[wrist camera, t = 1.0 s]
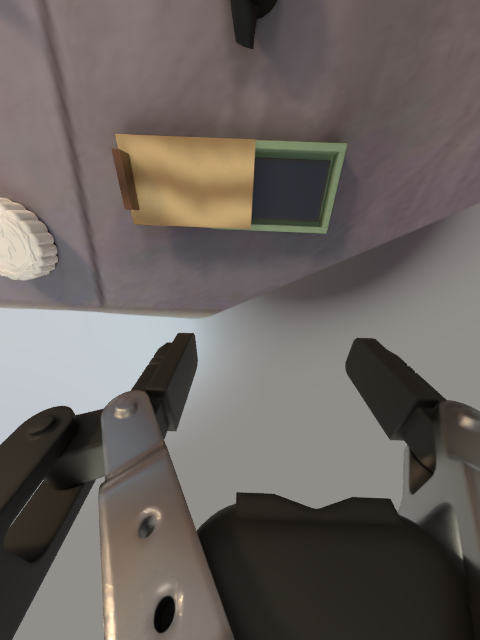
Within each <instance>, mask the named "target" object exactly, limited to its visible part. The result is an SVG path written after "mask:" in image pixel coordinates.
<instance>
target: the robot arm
mask: <svg viewBox="0 0 480 640" xmlns="http://www.w3.org/2000/svg"><path fill="white" fill-rule="evenodd" d="M197 362H198V358H197V349H196V341H195V335H194V333H178V334H177V336H176V337H175V339H174V341H173V342H172V343H166V344H165V345H163V346H162V347H161V348H159V349H158V351H157V352H156V354H155V355H154V358H152V360H151V361H150V363H149V365H148V366H147V367H146V369H145V370H144V372H143V373H142V375H141V376H140V378H139V379H138V381H137V382H136V384H135V385H134V387H133V388H132V390H131V391H129V392H125V393H123V394H121V395H119V396H117V397H115V398H114V399H113V400H111V401H110V402H109V403H108V404H107V406H106V407H105V408H104V409H101V410H97V411H93V412H88V413H84V414H80V415H75V414H74V412H73V410H72V409H71V408H69V407H66V406H57V407H53V408H49V409H46V410H44V411H42V412H40V413H38V414H36V415H34V416H32V417H31V418H29V419H28V420H27V421H25V422H24V423H23V424H22V425H20V426H19V427H18V428H17V429H16V430H15V431H14V432H13V433H12V434H11V435H10V436H9V437H8V438H7V439H6V440H5V441H4V442H3V443H2V444H1V445H0V640H12V639H13V637H14V635H15V633H16V631H17V629H18V627H19V625H20V623H21V622H22V620H23V617H24V616H25V614H26V612H27V610H28V608H29V606H30V604H31V602H32V601H33V599H34V597H35V595H36V593H37V591H38V589H39V587H40V585H41V583H42V581H43V580H44V577H45V576H46V574H47V572H48V570H49V568H50V566H51V564H52V562H53V560H54V559H55V557H56V555H57V553H58V551H59V549H60V547H61V545H62V543H63V541H64V539H65V538H66V536H67V534H68V532H69V530H70V528H71V526H72V524H73V522H74V520H75V518H76V516H77V514H78V513H79V511H80V509H81V507H82V505H83V503H84V501H85V499H86V497H87V495H88V494H89V492H90V490H91V488H92V486H93V484H94V482H95V480H96V479H98V478H101V477H104V476H105V481H104V482H103V483H102V484H101V485H100V487H99V493H98V504H99V528H100V549H101V573H102V594H103V595H102V596H103V616H104V640H480V411H478V410H476V409H474V408H472V407H470V406H468V405H466V404H463V403H460V402H456V401H451V400H446V399H445V398H444V397H442V395H440V394H439V393H438V392H437V391H436V390H435V389H434V388H433V387H432V386H430V385H429V384H428V383H427V382H426V381H425V380H424V379H423V378H422V377H420V376H419V375H418V374H417V373H415V371H414V370H413V369H412V368H411V367H410V366H407V364H406V363H405V362H404V361H403V360H402V359H401V358H399V357H398V356H397V355H395V354H394V353H392V352H390V351H388V350H387V349H385V347H383V346H382V345H381V344H380V343H379V342H378V341H377V340H376V339H372V338H356V339H355V340H354V342H353V344H352V347H351V350H350V352H349V355H348V358H347V361H346V365H345V366H346V372H347V374H348V376H349V378H350V379H351V381H352V382H353V384H354V385H355V387H356V388H357V390H358V392H359V393H360V395H361V396H362V397H363V399H364V401H365V402H366V404H367V405H368V407H369V408H370V410H371V412H372V413H373V415H374V416H375V418H376V419H377V421H378V422H379V424H380V425H381V427H382V428H383V430H384V432H385V433H386V435H387V436H388V438H389V439H390V440H404V441H405V442H406V443H407V446H406V448H405V449H404V469H403V471H404V472H403V498H402V502H401V505H400V507H399V510H398V512H397V511H396V509H395V508H394V505H393V503H392V501H391V499H384V498H360V497H351V498H348V499H346V500H343V501H340V502H337V503H334V504H331V505H329V506H325V507H323V508H320V509H314V508H310V507H307V506H305V505H302V504H300V503H297V502H294V501H292V500H289V499H286V498H283V497H281V496H278V495H275V494H264V493H239V492H237V494H236V496H237V497H236V504H234V505H230V506H228V507H226V508H224V509H222V510H220V511H218V512H217V513H215V514H214V515H213V516H211V517H210V518H209V519H208V520H207V521H206V522H205V523H203V524H202V525H201V526H200V528H199V529H198V530H197V531H196V529H195V526H194V523H193V520H192V518H191V514H190V512H189V509H188V506H187V503H186V500H185V497H184V495H183V492H182V489H181V486H180V483H179V480H178V477H177V475H176V472H175V469H174V466H173V463H172V460H171V458H170V455H169V452H168V449H167V446H166V444H165V442H164V439H165V436H166V433H167V431H176V430H177V427H178V424H179V421H180V418H181V415H182V412H183V409H184V406H185V403H186V400H187V397H188V394H189V391H190V387H191V385H192V381H193V378H194V375H195V372H196V369H197ZM43 480H44V481H43ZM42 481H43V482H42ZM41 482H42V484H41V485H40V483H41ZM39 485H40V486H39ZM38 486H39V488H38V489H37V487H38ZM36 489H37V490H36ZM35 490H36V492H35ZM34 492H35V493H34ZM33 493H34V495H33V496H32V494H33ZM31 496H32V497H31ZM30 497H31V499H30ZM29 499H30V500H29ZM28 500H29V502H28V503H27V504H26V502H27V501H28ZM25 504H26V506H25V507H24V505H25ZM23 507H24V508H23ZM22 508H23V510H22V511H21V509H22ZM20 511H21V513H20V514H19V512H20ZM18 514H19V516H18V517H17V518H16V516H17V515H18ZM15 518H16V520H15V521H14V519H15ZM13 521H14V523H13V524H12V522H13ZM11 524H12V525H11ZM10 525H11V527H10ZM9 527H10V528H9Z"/></svg>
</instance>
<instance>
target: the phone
mask: <svg viewBox="0 0 480 640" xmlns="http://www.w3.org/2000/svg"><path fill="white" fill-rule="evenodd" d="M330 165H331V160H309V159H284V158H258V157H255V164H254V182H253V199H252V217H251V219H267V220H291V221H315V222H318V221H319V217H320V213H321V208H322V203H323V198H324V193H325V189H326V184H327V179H328V174H329V169H330Z"/></svg>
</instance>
